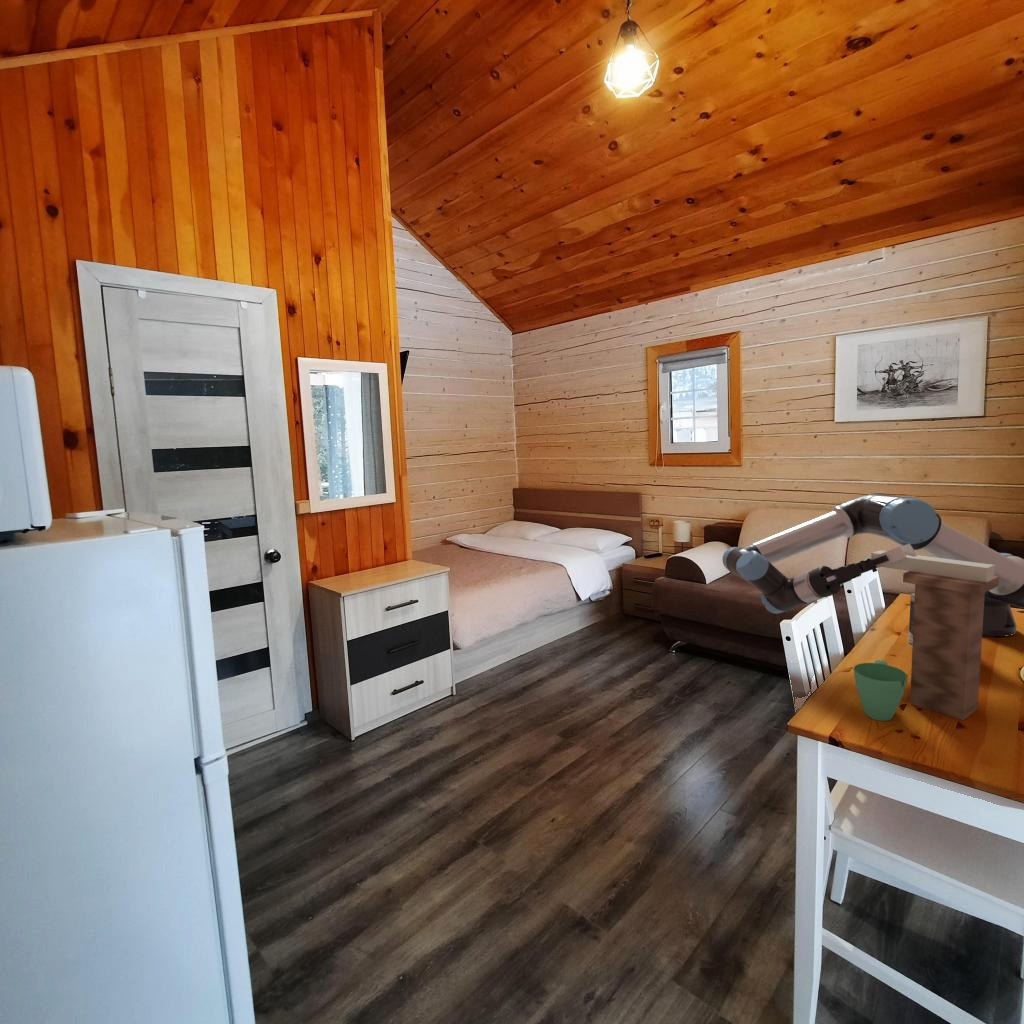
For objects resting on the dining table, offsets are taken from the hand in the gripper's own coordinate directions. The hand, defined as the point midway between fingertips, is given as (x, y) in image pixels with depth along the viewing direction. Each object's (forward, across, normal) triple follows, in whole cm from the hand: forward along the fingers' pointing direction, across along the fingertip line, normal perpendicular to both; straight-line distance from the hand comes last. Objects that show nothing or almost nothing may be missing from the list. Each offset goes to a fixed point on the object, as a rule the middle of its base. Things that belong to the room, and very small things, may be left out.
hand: (907, 550), depth 131 cm
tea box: (-21, -34, -28) cm, 49 cm away
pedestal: (-10, 0, -34) cm, 35 cm away
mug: (-17, +13, -30) cm, 37 cm away
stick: (+2, 0, -6) cm, 6 cm away
